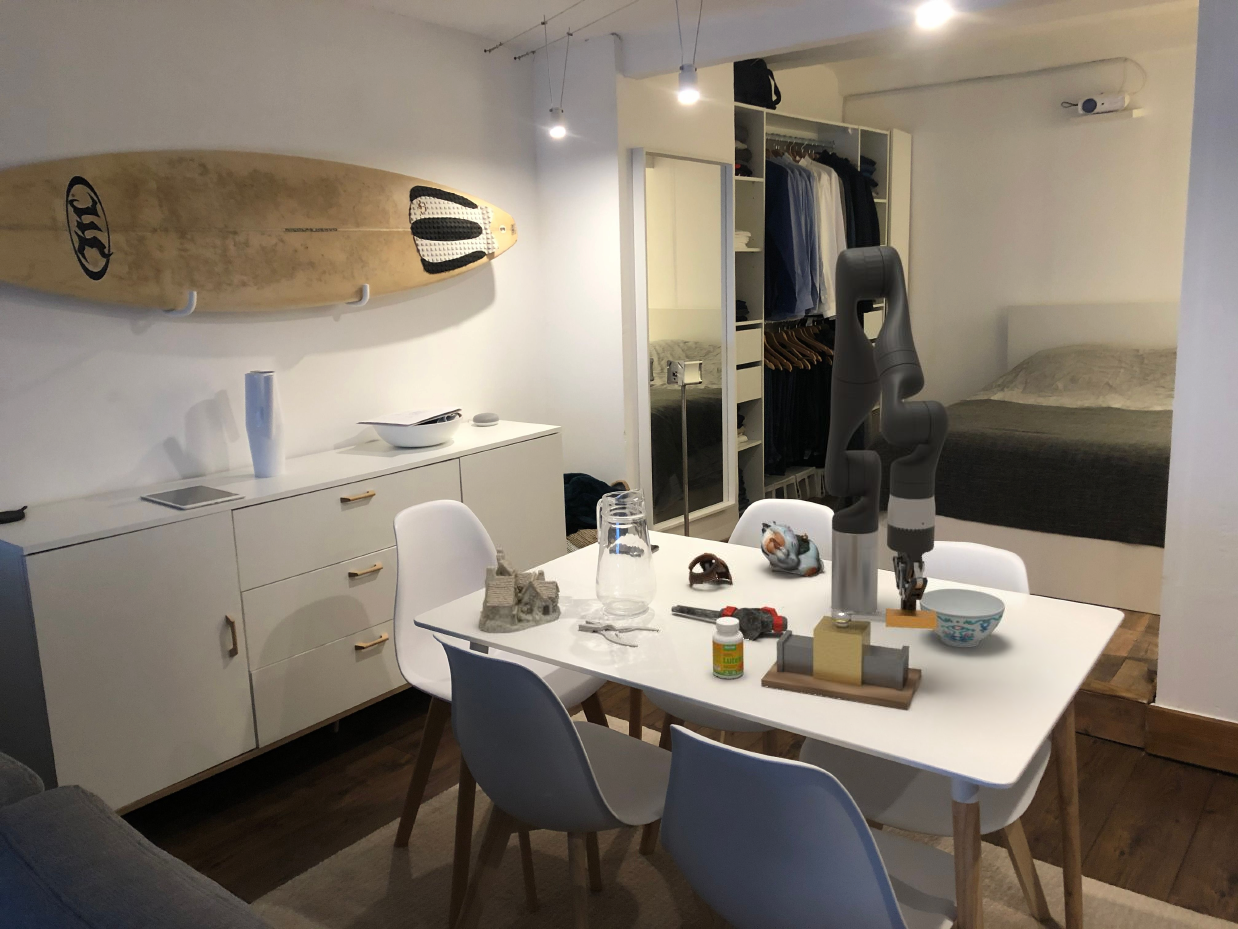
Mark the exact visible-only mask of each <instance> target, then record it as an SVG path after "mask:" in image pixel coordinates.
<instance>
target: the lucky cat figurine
mask: <svg viewBox="0 0 1238 929" xmlns="http://www.w3.org/2000/svg"><path fill="white" fill-rule="evenodd" d="M776 523H777V522H776V521H775V520H770V521H769V522H768V523H766V522H762V523H761V524H762V529H761V532H762V535H761V536H762V537H761V540H760V550H761V553H762V554H763V555H764V557H765V558H766V560H768V562H769V567H770V570H771V571H773V572H774V571H781V572H788V573H792V574H796V575H802V576H805V577H809V578H810V577H813V576H816V575H819V573H820V572H822V571H824V570H825V563H824V561H823V560H822V559H821V558H820V552H819V548H818V546H817V544H815V542H813V541H812V540H811V539H809V536H808V534H807V533H806V532H803V533H802V534H798V533H796V534H795V532H794V531H793V530H792V528H791V526H789V525H788V524H783V523H780V524H776Z"/></svg>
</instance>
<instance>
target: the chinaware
mask: <svg viewBox="0 0 1238 929" xmlns="http://www.w3.org/2000/svg"><path fill="white" fill-rule="evenodd" d="M918 601H919V603H918V604H919V606H920V607H919V608H920V610H925V611H936V614H937V629H931V630H932V631H933V632H935V634H937V635H938V636H940V640H941V641H942V642H943V643H944V644H946V645H949V646H952V647H956V648H971V647H972V648H973V647H976V646H978V645H979V644H980V641H981V640H983V639H984V638H986V637H988V636H989V635H991V634H992V633H993V632H994V631H995V630H996V628H998V626H999V625H1000V622H1001V621H1002V618H1003V616H1004V613H1005V608H1006V603H1005V602H1004V600H1002V599H1001V598H1000V597H998V596H996V595H993V594H991V593H987V592H983V591H978V590H975V589H973V590H972V589H968V588H967V589H965V588H939V589H932V590H930V591H926V592H924V594H923V596H922V599H921V600H918Z"/></svg>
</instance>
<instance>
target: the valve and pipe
mask: <svg viewBox="0 0 1238 929" xmlns="http://www.w3.org/2000/svg"><path fill="white" fill-rule="evenodd" d="M871 624H872V622H867V621H851V622H836V621H834V620H832V618H831V616H830V615H823V616H822V618H820V620H819V621H818V622H817V624H816V626H814V628H813V630H812V631H813V635H812V636H808V635H799V634H793V629H790V630H789V629H787V630H786V631H785V632H783V634H782V635H781V636H780V637H779V638H778V640H777V641H776V661H777V672H781V673H783V672H789V673H796V674H802V675H808V676H813V679H818V680H825V681H831V682H837V683H844V684H850V685H857V686H861V685H862V684H867V685H873V686H880V687H886V688H893V689H896V690H897V691H902V690H903V688H904V686H905V684H906V682H907V679H908V677H909V668H910V667H909V666H910V646H909V645H902V647H901V648H896V647H888V646H882V645H881V646H880V645H874V644H871V638H872V637H871V635H872V634H871V632H872V631H871V628H872V627H871V626H872V625H871Z"/></svg>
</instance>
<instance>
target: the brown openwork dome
mask: <svg viewBox="0 0 1238 929" xmlns="http://www.w3.org/2000/svg"><path fill="white" fill-rule="evenodd" d="M697 565H699V566H700V568H701V570H702V572H694V571H693V569H695V567H696V566H697ZM687 568H688V570H689V572H688V581H689V582H688V583H689V585H690V586H692V587H693V586H694V585H702V584H703V585H704V584H706V583H708V582H710V581H717V582H718V581H719V580H723V579H724V580H727V581H729V583H730V585H731V584H734V582H733V576H732V574H731V571H730V569H729V568H730V567H729V566H728V564H727V563H726V562H725V560H723V558H720V557H718V556H717V555H716V554H714V553H710V552H709V553H708V552H704V553H701V554H699V555H698V556H696V557H694V558H693V559H692V560H691V562H690V563H689V565H688V567H687ZM717 578H718V579H717Z"/></svg>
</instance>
